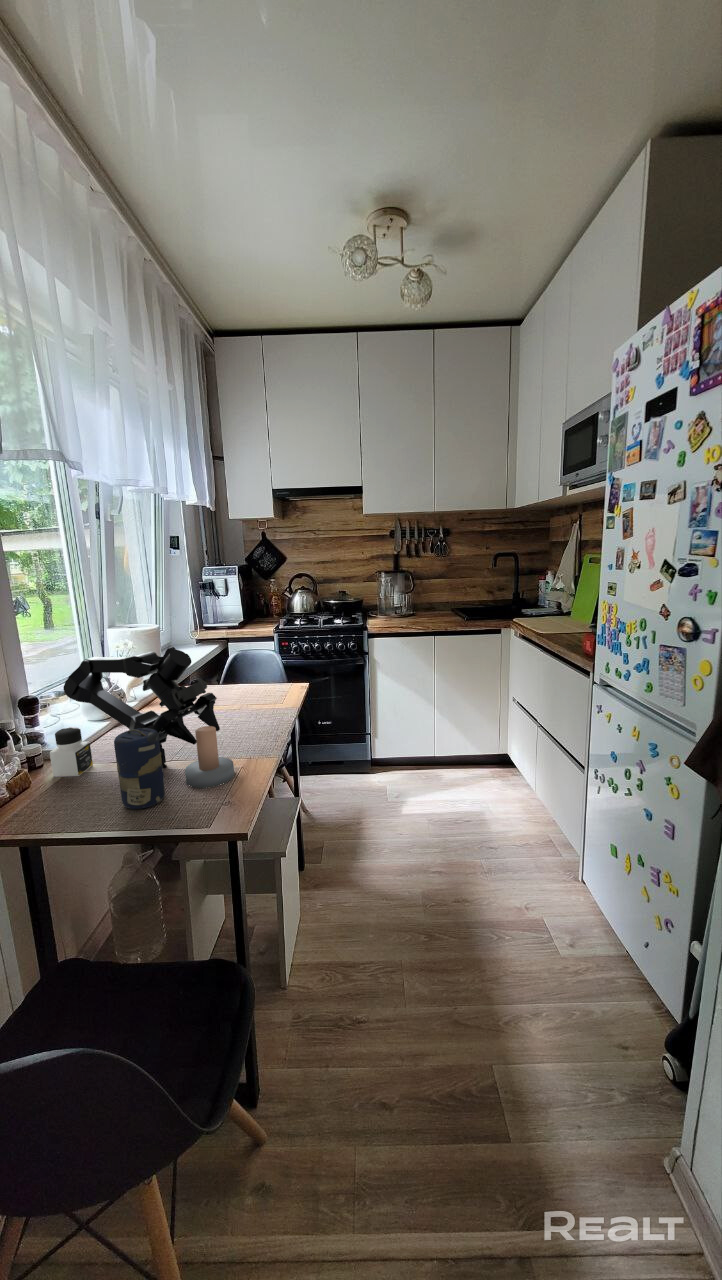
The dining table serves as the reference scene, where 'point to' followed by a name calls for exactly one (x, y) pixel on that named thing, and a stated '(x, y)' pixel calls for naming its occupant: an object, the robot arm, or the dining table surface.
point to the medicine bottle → (70, 753)
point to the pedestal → (209, 774)
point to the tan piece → (207, 748)
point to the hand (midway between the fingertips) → (207, 736)
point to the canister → (139, 768)
